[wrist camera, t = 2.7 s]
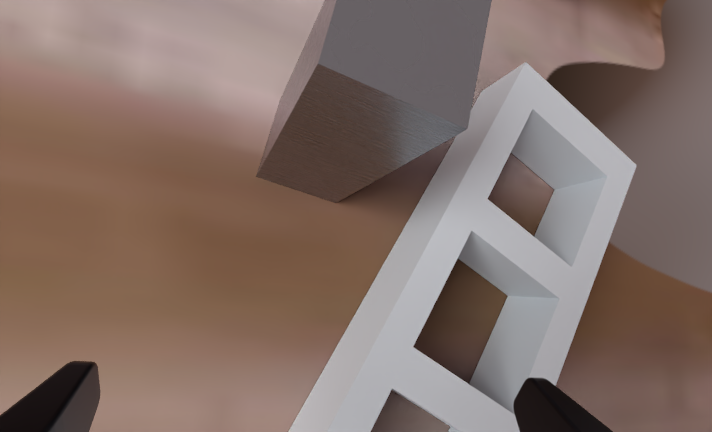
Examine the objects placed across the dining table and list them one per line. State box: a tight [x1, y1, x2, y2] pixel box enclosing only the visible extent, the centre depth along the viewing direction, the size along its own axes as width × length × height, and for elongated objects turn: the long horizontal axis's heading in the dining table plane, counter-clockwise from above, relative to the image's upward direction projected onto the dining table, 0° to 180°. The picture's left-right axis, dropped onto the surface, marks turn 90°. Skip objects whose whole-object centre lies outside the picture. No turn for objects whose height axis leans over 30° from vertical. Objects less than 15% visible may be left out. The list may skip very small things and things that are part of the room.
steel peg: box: [256, 0, 492, 203], centre depth 17 cm, size 4×4×12 cm
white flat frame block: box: [288, 62, 636, 432], centre depth 22 cm, size 28×10×4 cm, turn 147°
